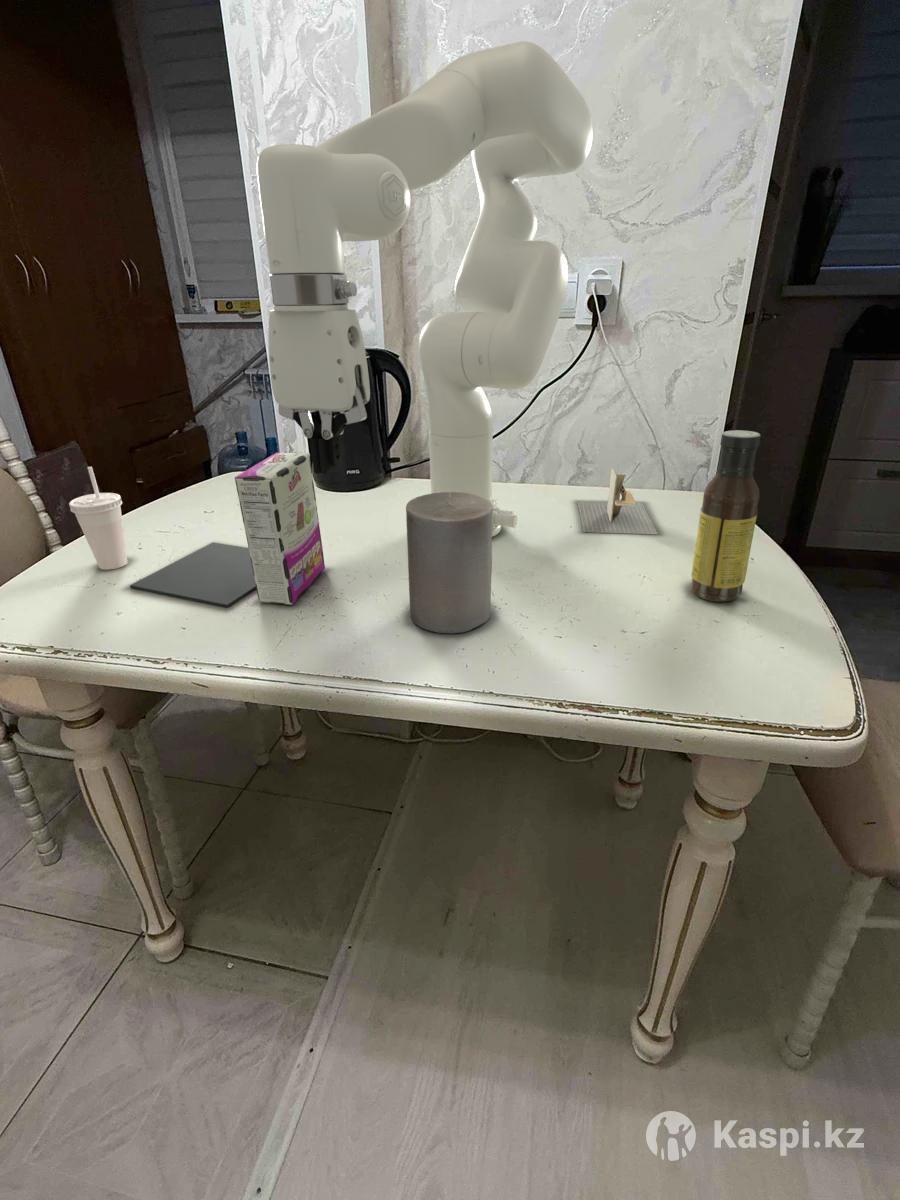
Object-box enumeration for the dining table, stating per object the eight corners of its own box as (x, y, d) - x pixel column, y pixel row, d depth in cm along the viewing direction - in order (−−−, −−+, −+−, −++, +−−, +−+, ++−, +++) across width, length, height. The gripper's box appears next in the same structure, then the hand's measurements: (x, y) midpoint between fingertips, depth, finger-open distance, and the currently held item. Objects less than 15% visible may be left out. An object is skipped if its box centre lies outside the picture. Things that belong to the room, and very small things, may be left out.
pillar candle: (413, 595, 79) (408, 480, 72) (490, 596, 79) (492, 480, 72) (406, 634, 70) (399, 508, 64) (492, 635, 70) (495, 507, 63)
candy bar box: (292, 567, 88) (275, 450, 80) (326, 569, 87) (312, 452, 79) (255, 603, 78) (232, 475, 70) (292, 607, 77) (273, 476, 69)
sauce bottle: (746, 589, 79) (782, 431, 70) (733, 608, 75) (770, 442, 66) (695, 577, 83) (722, 425, 74) (680, 595, 78) (707, 435, 69)
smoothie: (147, 559, 91) (123, 464, 84) (109, 576, 86) (80, 477, 79) (116, 552, 93) (90, 460, 87) (78, 569, 88) (47, 471, 82)
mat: (301, 558, 90) (301, 556, 90) (227, 607, 77) (227, 604, 77) (213, 544, 96) (212, 542, 95) (130, 587, 82) (129, 585, 82)
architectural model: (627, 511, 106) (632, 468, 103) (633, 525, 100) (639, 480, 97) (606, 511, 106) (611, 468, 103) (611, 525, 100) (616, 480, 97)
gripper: (391, 293, 64) (400, 469, 73) (271, 294, 69) (292, 458, 78) (355, 295, 58) (369, 486, 67) (226, 295, 63) (254, 473, 72)
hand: (327, 470), depth 72 cm, fingers closed
